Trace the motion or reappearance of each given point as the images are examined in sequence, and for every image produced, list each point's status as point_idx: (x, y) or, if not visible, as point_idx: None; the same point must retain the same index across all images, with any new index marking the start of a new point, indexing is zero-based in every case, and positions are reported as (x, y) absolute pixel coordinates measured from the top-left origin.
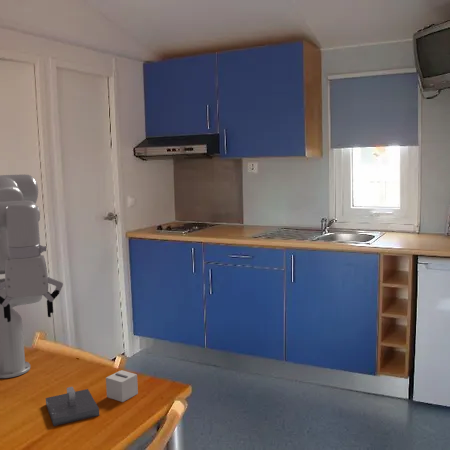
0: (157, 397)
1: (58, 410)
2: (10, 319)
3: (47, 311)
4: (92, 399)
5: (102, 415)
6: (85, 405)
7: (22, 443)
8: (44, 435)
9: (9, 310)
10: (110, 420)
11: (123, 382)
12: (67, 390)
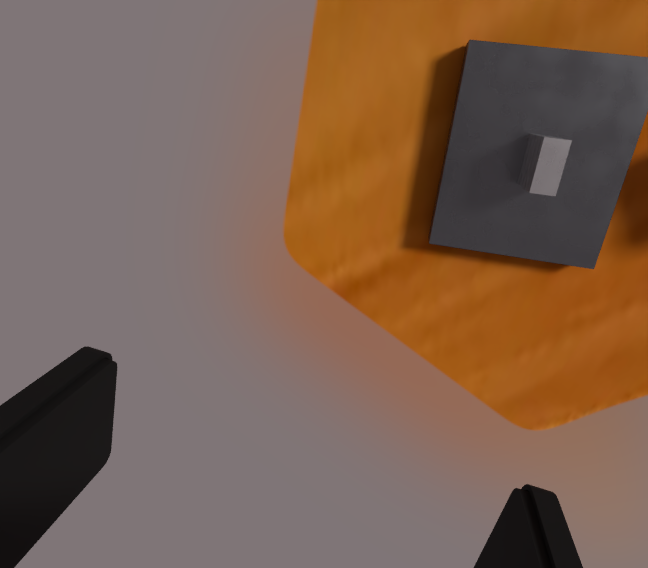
0: None
1: (468, 190)
2: (102, 450)
3: (509, 552)
4: (618, 181)
5: None
6: (567, 215)
7: (323, 272)
8: (387, 267)
9: (17, 563)
10: (596, 309)
11: None
12: (538, 152)
